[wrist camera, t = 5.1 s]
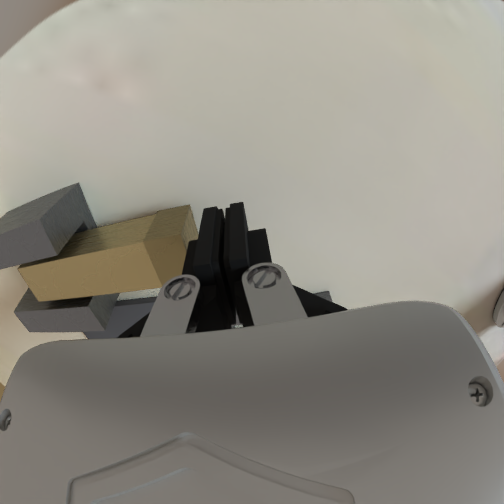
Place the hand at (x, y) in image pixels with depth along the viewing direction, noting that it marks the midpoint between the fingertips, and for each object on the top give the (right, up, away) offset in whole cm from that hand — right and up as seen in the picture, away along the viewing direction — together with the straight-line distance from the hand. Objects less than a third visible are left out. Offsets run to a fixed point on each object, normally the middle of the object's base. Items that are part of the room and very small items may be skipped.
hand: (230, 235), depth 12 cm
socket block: (-11, 0, +3) cm, 11 cm away
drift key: (-7, 0, +1) cm, 7 cm away
